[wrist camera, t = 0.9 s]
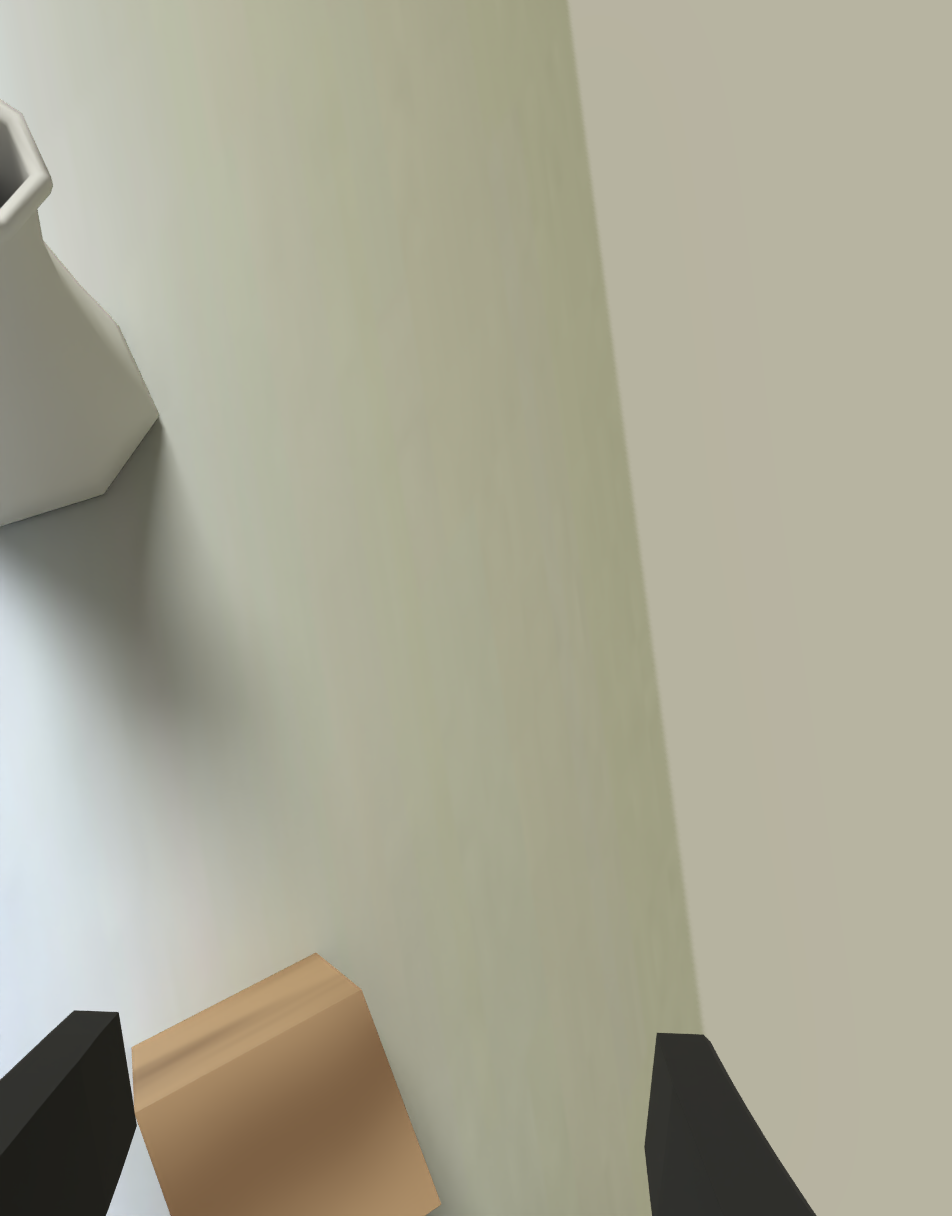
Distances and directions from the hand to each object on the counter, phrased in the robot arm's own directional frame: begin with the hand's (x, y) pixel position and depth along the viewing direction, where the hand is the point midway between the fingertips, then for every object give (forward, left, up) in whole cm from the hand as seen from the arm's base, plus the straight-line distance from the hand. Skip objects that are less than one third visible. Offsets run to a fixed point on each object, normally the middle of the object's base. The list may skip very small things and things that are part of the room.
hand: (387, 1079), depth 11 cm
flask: (+11, +12, -13) cm, 21 cm away
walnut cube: (-3, -2, -13) cm, 14 cm away
